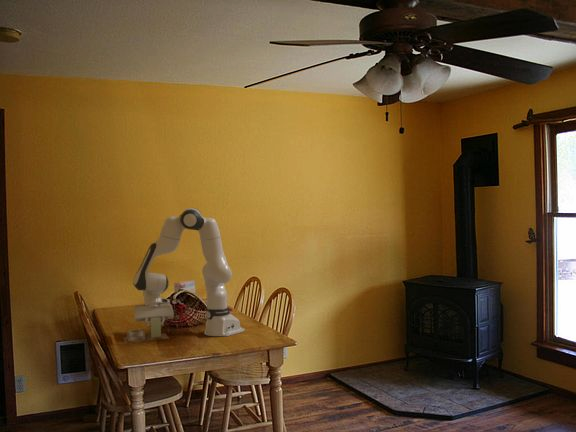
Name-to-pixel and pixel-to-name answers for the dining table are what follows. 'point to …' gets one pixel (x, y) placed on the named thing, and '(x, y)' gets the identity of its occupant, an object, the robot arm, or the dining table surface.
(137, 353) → the dining table surface
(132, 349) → the dining table surface
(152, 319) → the slat
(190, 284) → the cracker box
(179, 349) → the dining table surface
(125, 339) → the end cap board
